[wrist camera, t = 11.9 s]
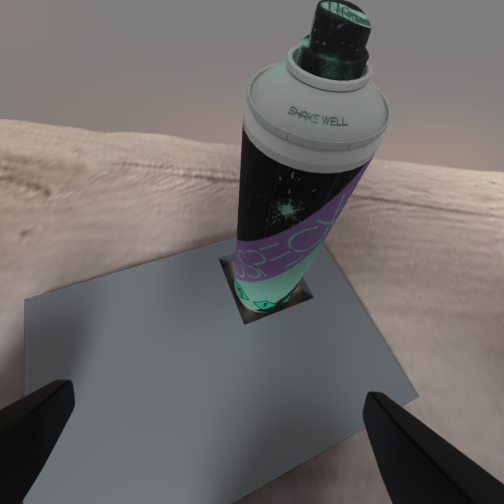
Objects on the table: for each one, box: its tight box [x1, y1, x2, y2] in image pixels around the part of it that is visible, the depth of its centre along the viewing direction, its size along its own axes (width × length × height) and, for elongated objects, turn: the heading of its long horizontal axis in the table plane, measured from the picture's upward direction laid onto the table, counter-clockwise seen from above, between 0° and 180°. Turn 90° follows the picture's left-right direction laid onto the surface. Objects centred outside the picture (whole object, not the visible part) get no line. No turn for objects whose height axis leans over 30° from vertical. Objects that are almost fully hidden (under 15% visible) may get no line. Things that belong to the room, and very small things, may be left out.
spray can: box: [234, 0, 391, 314], centre depth 16 cm, size 6×6×20 cm
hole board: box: [23, 236, 419, 504], centre depth 21 cm, size 18×26×2 cm
